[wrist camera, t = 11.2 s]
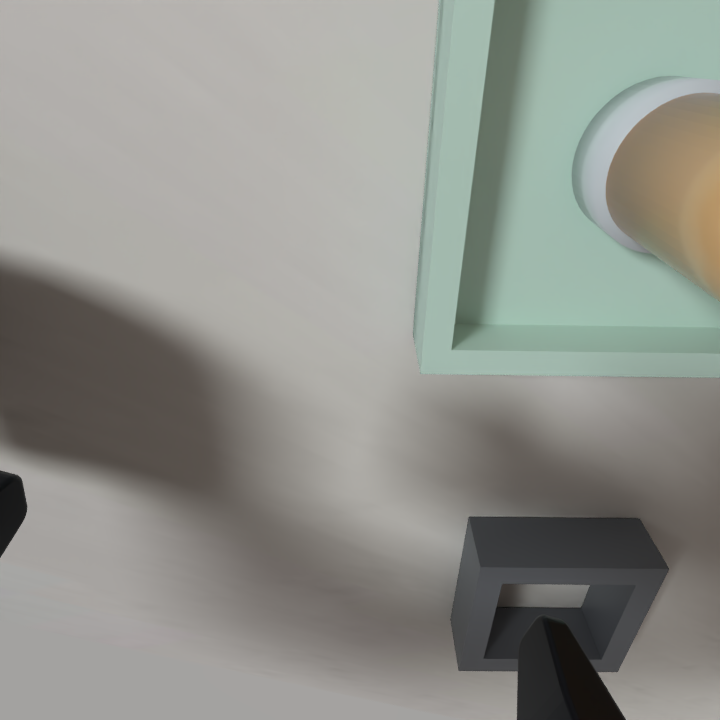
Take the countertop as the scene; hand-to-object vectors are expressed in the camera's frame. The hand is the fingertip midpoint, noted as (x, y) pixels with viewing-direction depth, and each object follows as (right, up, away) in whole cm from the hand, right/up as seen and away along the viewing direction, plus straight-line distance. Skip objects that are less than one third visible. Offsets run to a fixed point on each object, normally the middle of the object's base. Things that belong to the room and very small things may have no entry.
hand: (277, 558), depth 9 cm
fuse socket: (+11, -9, +20) cm, 25 cm away
